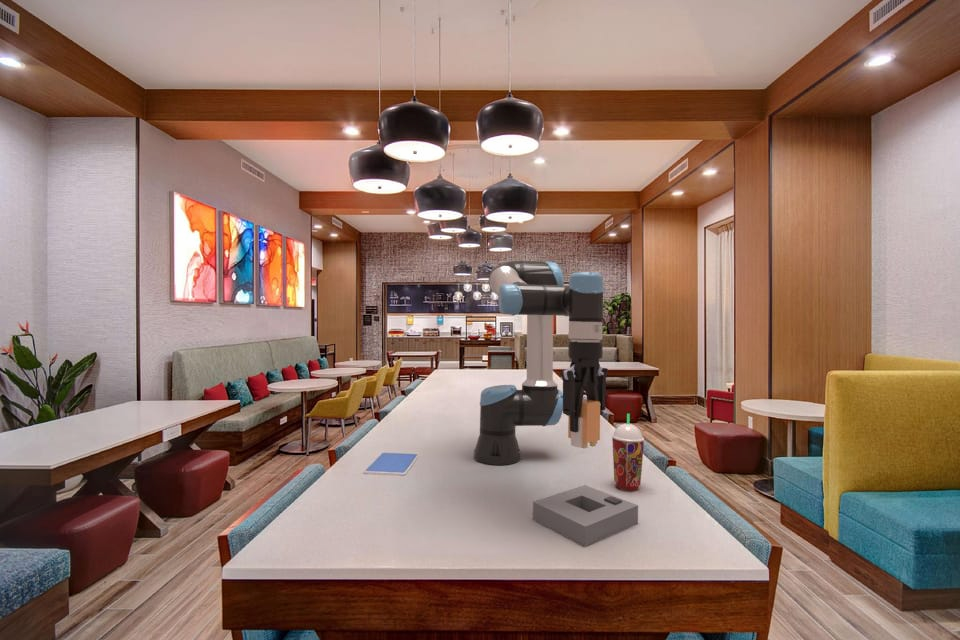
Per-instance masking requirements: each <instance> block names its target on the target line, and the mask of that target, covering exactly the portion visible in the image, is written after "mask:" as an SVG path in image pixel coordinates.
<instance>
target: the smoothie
mask: <svg viewBox="0 0 960 640" xmlns="http://www.w3.org/2000/svg"><path fill="white" fill-rule="evenodd" d="M630 415H631V414H630V413H626V423H622V424H620V425H618V426H617V427H616V428H615V429H614V432H613V434H611V438H612V459H613V463H612V464H613V479H614V483H615V485H616V488H618V489H620V490H623V491H627V492H628V491H629V492H631V491H633V492H634V491H637V490H639V486H641V480H642V470H643V468H642V467H643V458H644V457H643V456H644V446H645V445H644V444H645V438H644V436H643V434H642V432H641V430H640V429H639V428H638V427H637V426H636V425H634V424H632V423H630V421H631V419H630V418H631V417H630Z"/></svg>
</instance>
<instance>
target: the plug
mask: <svg viewBox="0 0 960 640" xmlns="http://www.w3.org/2000/svg"><path fill="white" fill-rule="evenodd" d="M600 405H601V404H600V402H598V401H592V400H587V398H583V401H582V407H581V414H580V417H582V418H583V441H582V442H583V445H582V448H581V449H588V448H589V447H588V445H589V446H590V447H597V444H596V441H597V442H598V441H600V440H601V415H600ZM567 417H568V418H567V419H568V425H567V426H568V427H567V429H568V430H567V431H568V432H567V433H568V434H567V435H568V436H567V438H568V439H571V431H570V416H567ZM588 442H590V443H588Z"/></svg>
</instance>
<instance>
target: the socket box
mask: <svg viewBox="0 0 960 640" xmlns="http://www.w3.org/2000/svg"><path fill="white" fill-rule="evenodd" d="M532 520H533V521H535V522H537V523H539V524H541V525H542V526H545V527H547V528H548V529H550V530H553V531H554V532H556V533H559V534H560V535H562V536H564V537H566V538H568V539H569V540H571V541H573V542H576V543H577V544H579V545H581V546H583V547H584V548H585V547H588V546H590V545H592V544H595V543H596V542H599V541H602V540H603V539H605V538H607V537H610V536H612V535H615V534H617V533H619V532H621V531H623V530H626V529H628V528H630V527H633V526H635V525H637V524H638V523H639V504H636V503H633V502H630V501H628V500H626V499H622V498H620V497H617V496H615V495H612V494H610V493H607V492H605V491H601V490H599V489H596V488H593V487H591V486H588V485H587V484H584V485H581V486H577V487H575V488H572V489H569V490H565V491H562V492H559V493H556V494H553V495H550V496H547V497H543V498H540V499H536V500H534V501H533V502H532Z"/></svg>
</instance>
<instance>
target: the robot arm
mask: <svg viewBox="0 0 960 640" xmlns="http://www.w3.org/2000/svg"><path fill="white" fill-rule="evenodd" d="M488 286H489V288H490V289H491V291H492V292H493V293H494V294H495V295H497V296H498V297H497V298H498V300H497V301H498V303H497V304H498V310H499V312H500V313H501V314H503V315H511V316H516V315H517V316H521V315H522V316H526V379H525V380H524V381H523V382H522V384H521V389H517V386H516V385H515V384H501V385H500V384H499V385H493V386H489V387H485V388H484V389H482V391H481V392H480V398H479V399H480V401H479V406H480V408H479V409H480V410H479V411H480V413H479V435H478V438H477V441H476V446H475V448H474V451H473V458H474V460H475V461H477V462H478V463H482V464H486V465H493V466H503V465H504V466H505V465H512V464H515V463H518V462H519V461H521V450H520V447H519V442H518V440H517V436H516V435H517V434H516V428H517V427H528V426H529V427H530V426H531V427H536V426H539V427H540V426H542V427H546V426H547V427H548V426H556V425H557V424H558V423H559V422H560V420H561V418H562V415H566V416H567V417H568V416H570V431H571V438H570V445H571V446H573V447H576V448H579V449H583V448H582V445H583V442H582V441H583V418H582V417H580V414H581V407H582V401H583V399H584V395H585V394H584V393H586V395H585V396H586V399H587V400H592V401H598V402H600V416H603V414H604V411H606V399H607V398H606V395H607V394H606V392H607V377H608V376H607V375H608V372H609V370H608V368H607V367H602V366H601V364H600V361H599V360H601V359H602V358H603V351H604V349H603V346H604V345H603V344H602V342H601V340H603V322H604V320H603V319H604V291H605V288H604V277H603V275H602V274H601V273H599V272H595V271H594V272H593V271H592V272H590V271H583V272H581V271H580V272H573V273H572V274H570V276H569V281H568V285H565V284H564V275H563V272H562V269H561V267H560V265H559V264H558V263H556V262H554V261H553V262H552V261H539V260H538V261H537V260H536V261H535V260H534V261H533V260H532V261H529V260H528V261H526V260H525V261H523V260H511V261H506V262H505V261H504V262H503V263H500V264H498V265H497V266H494V268H493V269H492V270H491V272H490V274H489V276H488ZM554 316H561V317H562V316H564V317H568V336H567V337H568V339H569V340H570V341H569V342H568V348H567V349H568V353H567V354H568V357H569V358H570V365H569V368H567V369H561V371H560V376H561V379H562V390H561V389H559V388H558V383H556V382H555V381H554V378H553V374H554V373H553V372H554V368H553V367H554V366H553V365H554V363H553V362H554V359H553V358H554V339H553V338H554ZM588 444H590V442H588ZM596 445H598V440H597V441H596Z"/></svg>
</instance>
